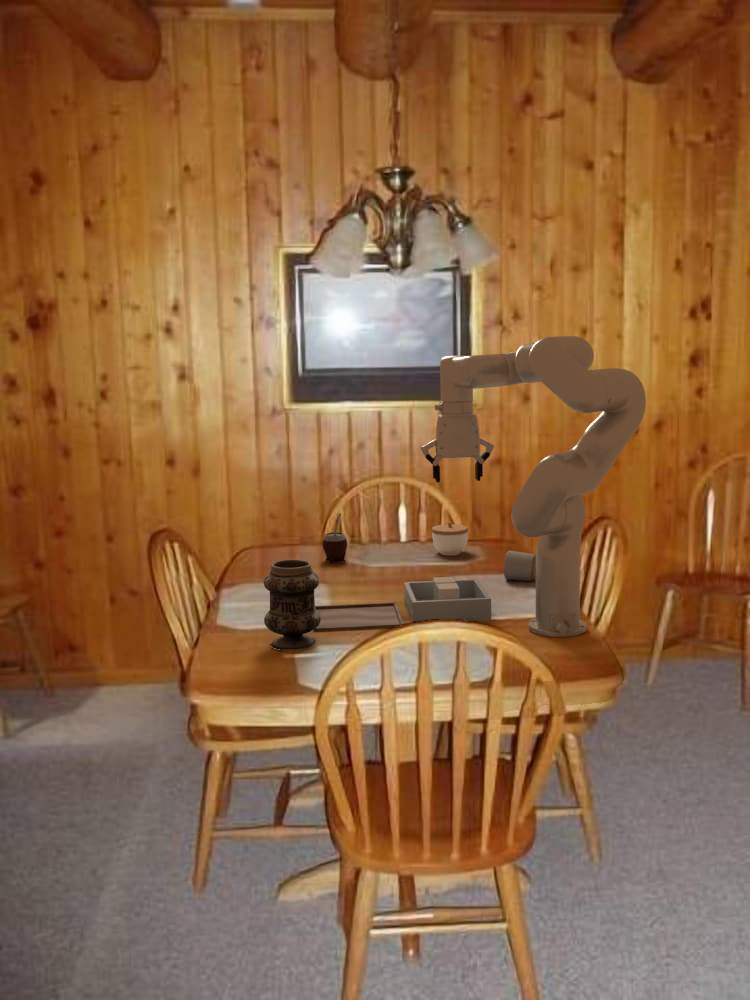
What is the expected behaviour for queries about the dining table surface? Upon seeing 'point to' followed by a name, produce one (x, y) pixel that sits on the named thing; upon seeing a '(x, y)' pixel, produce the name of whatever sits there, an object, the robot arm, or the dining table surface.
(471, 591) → the tub
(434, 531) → the lidded jar
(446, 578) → the stone
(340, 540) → the mate gourd
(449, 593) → the beige block
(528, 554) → the ceramic mug
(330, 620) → the walnut tray
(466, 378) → the robot arm
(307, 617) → the apothecary jar
